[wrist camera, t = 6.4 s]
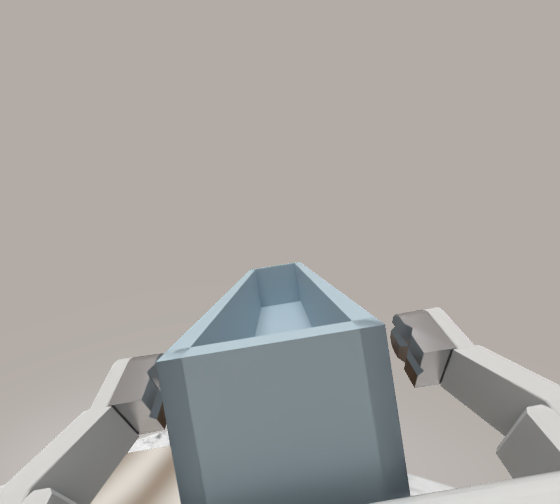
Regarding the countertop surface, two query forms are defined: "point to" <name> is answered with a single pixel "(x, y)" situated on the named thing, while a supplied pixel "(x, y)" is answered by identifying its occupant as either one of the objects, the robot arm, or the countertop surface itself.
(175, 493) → the oak crate
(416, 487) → the countertop surface
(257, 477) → the blue-gray container
